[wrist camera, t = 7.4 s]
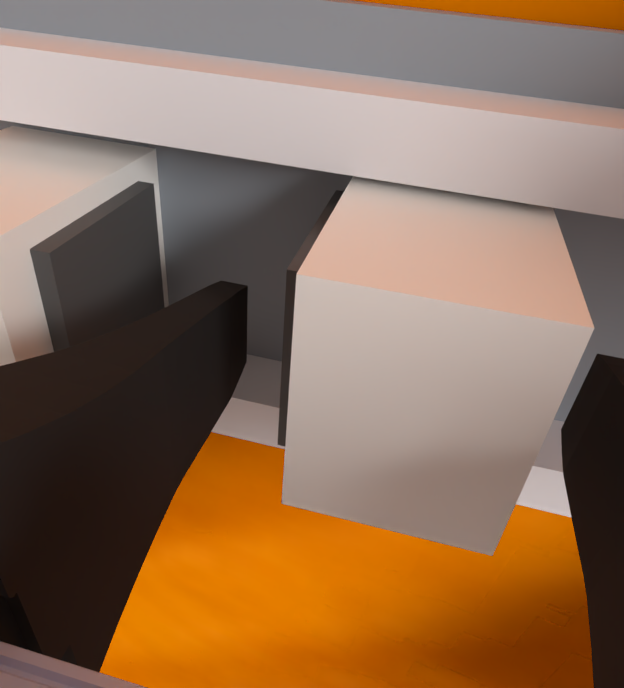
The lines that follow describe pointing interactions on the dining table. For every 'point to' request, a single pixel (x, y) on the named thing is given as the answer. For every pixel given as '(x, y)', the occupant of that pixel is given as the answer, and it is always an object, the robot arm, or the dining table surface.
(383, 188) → the block
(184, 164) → the rail plate
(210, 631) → the dining table surface
